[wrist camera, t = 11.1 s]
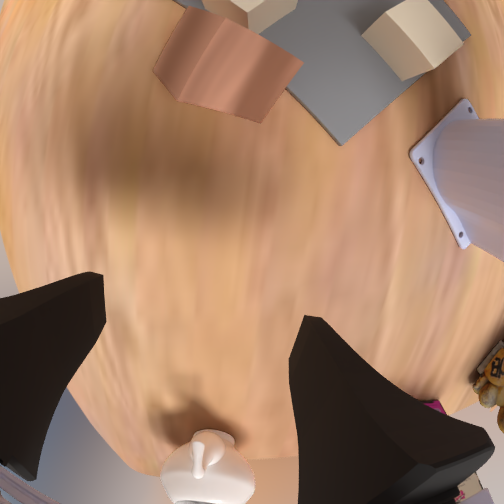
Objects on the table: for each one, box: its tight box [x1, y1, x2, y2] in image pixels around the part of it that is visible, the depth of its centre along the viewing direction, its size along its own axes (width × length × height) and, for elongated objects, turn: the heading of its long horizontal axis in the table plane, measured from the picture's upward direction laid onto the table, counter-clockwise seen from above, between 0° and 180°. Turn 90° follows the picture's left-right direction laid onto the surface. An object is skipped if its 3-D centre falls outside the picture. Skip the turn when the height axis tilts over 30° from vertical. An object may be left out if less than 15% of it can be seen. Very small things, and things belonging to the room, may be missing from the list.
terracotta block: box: [153, 6, 304, 123], centre depth 11 cm, size 4×4×5 cm
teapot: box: [160, 429, 255, 504], centre depth 22 cm, size 10×20×9 cm, turn 177°
